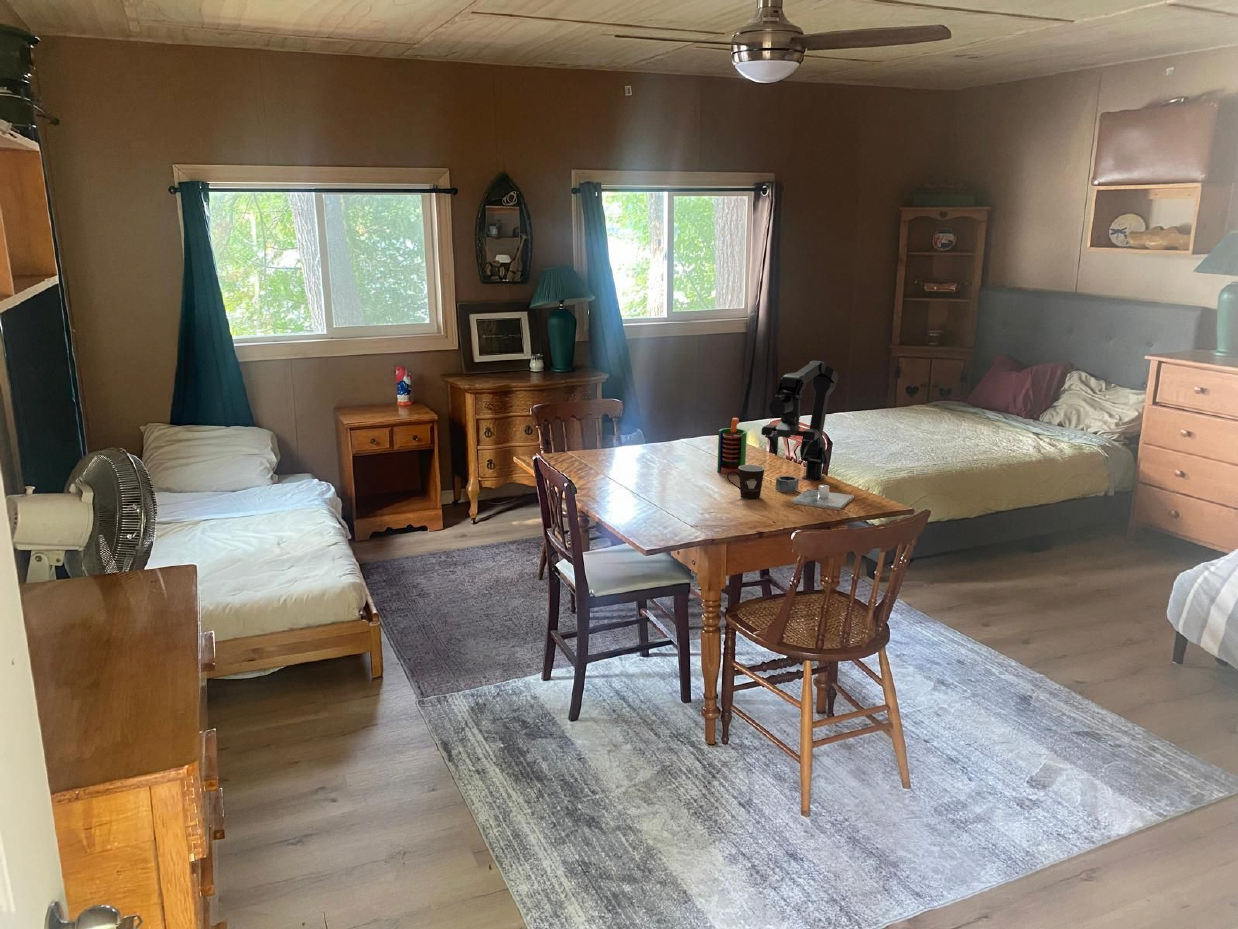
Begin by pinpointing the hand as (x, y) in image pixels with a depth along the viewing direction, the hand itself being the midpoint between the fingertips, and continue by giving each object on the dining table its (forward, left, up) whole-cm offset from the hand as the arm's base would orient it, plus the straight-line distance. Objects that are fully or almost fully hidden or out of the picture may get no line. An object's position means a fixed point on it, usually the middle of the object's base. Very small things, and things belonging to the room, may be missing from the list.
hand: (788, 456), depth 322 cm
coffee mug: (+15, -9, -12) cm, 21 cm away
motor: (-13, -26, -12) cm, 32 cm away
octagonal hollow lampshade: (0, 0, -12) cm, 12 cm away
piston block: (+7, +15, -12) cm, 20 cm away
